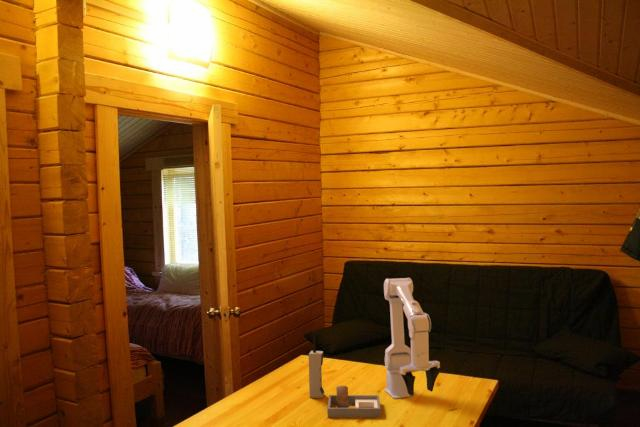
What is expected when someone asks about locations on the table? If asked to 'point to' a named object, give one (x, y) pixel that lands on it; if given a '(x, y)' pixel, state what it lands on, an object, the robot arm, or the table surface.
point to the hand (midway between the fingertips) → (420, 392)
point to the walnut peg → (342, 396)
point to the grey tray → (356, 406)
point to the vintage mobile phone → (315, 372)
